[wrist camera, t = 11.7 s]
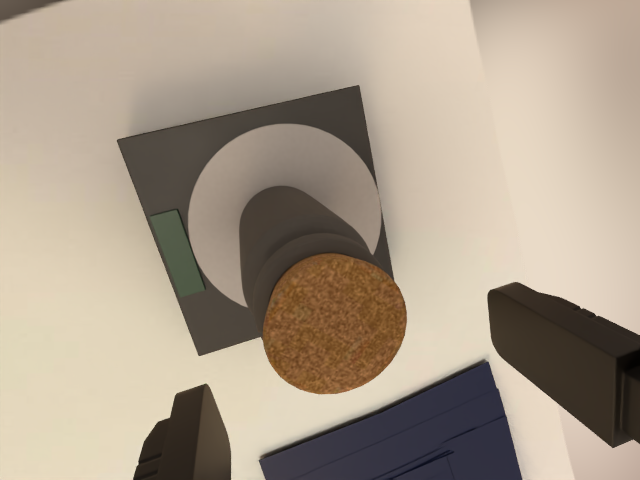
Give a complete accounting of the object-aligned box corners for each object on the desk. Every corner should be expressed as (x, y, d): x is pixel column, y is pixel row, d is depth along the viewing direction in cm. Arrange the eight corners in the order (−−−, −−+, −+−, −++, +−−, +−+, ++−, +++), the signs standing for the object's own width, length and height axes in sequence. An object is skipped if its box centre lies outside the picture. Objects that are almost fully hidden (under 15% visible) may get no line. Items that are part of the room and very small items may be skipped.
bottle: (289, 167, 25) (361, 201, 11) (338, 232, 27) (453, 335, 13) (220, 220, 25) (200, 326, 11) (274, 282, 27) (318, 442, 13)
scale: (127, 139, 25) (113, 139, 22) (348, 89, 27) (362, 83, 24) (201, 339, 30) (198, 361, 27) (384, 282, 32) (400, 296, 29)
